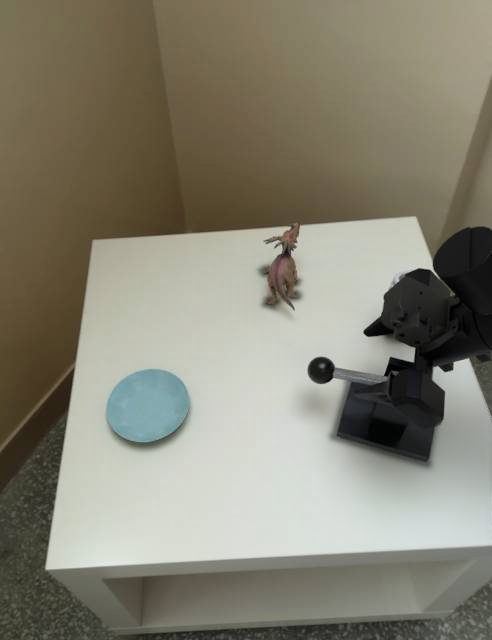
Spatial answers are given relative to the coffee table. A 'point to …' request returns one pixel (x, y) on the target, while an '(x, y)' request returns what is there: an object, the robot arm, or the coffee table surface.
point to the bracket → (384, 422)
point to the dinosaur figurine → (283, 266)
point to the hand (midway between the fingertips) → (360, 363)
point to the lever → (339, 373)
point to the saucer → (147, 405)
